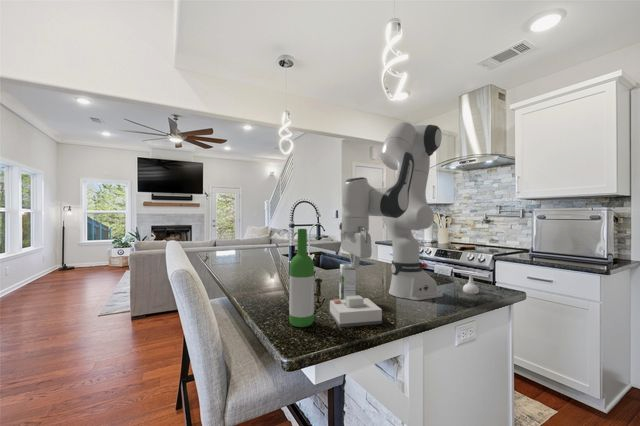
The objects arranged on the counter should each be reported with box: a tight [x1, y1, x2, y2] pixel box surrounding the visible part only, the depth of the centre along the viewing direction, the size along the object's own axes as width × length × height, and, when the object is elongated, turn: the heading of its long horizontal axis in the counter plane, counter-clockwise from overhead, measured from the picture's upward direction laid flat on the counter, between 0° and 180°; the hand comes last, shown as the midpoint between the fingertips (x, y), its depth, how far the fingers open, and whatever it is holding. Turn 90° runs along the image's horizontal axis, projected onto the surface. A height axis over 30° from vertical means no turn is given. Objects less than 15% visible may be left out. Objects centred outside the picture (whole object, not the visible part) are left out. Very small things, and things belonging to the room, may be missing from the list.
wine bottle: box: [288, 228, 315, 328], centre depth 90 cm, size 8×8×30 cm
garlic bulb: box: [462, 274, 480, 295], centre depth 126 cm, size 6×6×8 cm
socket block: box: [329, 297, 383, 328], centre depth 95 cm, size 14×12×5 cm
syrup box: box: [338, 263, 357, 300], centre depth 112 cm, size 6×6×14 cm
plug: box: [346, 294, 364, 308], centre depth 95 cm, size 5×4×6 cm
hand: (354, 267), depth 95 cm, fingers closed
